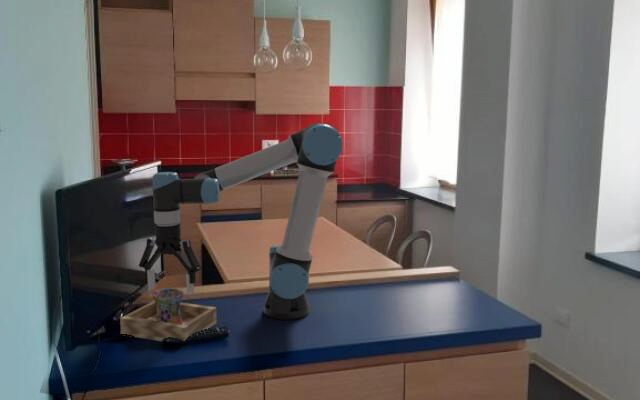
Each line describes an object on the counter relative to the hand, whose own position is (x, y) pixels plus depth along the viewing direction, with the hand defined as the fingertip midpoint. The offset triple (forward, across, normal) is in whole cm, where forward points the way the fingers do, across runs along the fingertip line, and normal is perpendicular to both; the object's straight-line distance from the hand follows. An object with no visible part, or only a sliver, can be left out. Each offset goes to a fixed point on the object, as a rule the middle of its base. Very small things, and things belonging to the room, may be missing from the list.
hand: (170, 291), depth 185 cm
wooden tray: (+12, +1, 0) cm, 12 cm away
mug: (+11, +1, 0) cm, 11 cm away
